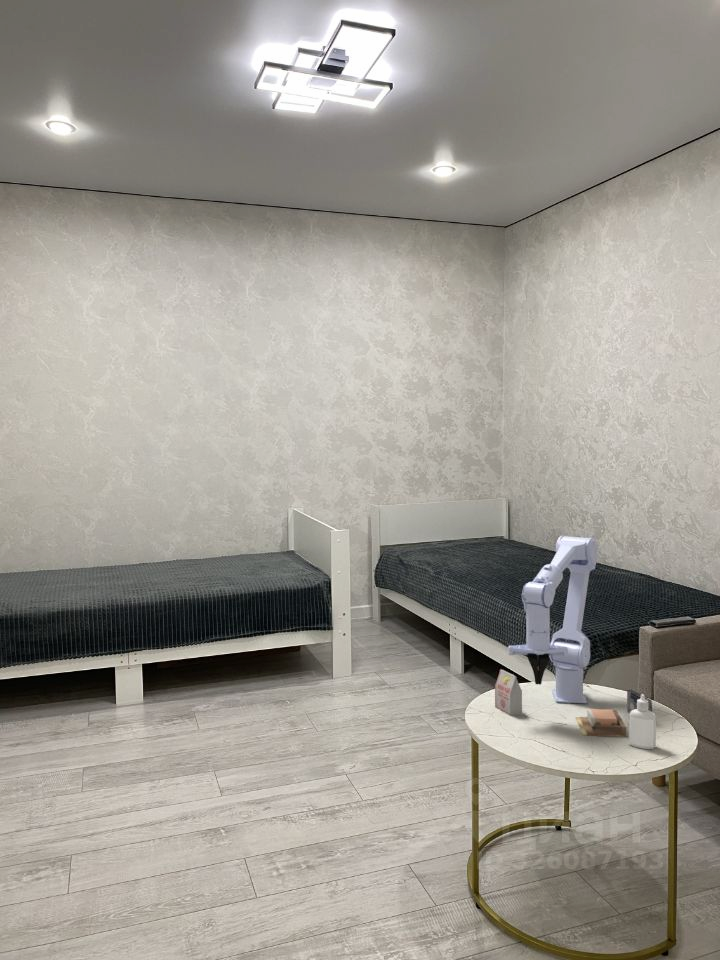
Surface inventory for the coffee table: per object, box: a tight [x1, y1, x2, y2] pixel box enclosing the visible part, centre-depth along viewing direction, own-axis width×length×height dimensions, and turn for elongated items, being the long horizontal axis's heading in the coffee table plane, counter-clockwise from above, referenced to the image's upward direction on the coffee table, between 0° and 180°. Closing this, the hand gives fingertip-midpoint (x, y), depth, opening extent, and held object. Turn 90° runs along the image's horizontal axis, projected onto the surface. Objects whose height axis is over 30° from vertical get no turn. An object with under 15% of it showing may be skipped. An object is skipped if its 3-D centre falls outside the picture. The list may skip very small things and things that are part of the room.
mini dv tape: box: [626, 689, 653, 715], centre depth 188 cm, size 8×2×6 cm, turn 14°
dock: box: [575, 709, 627, 738], centre depth 183 cm, size 11×10×2 cm
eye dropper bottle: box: [628, 693, 657, 750], centre depth 171 cm, size 4×6×12 cm
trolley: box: [586, 708, 619, 729], centre depth 183 cm, size 7×6×3 cm
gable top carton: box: [494, 669, 523, 716], centre depth 195 cm, size 4×7×10 cm, turn 24°
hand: (538, 683), depth 188 cm, fingers closed
